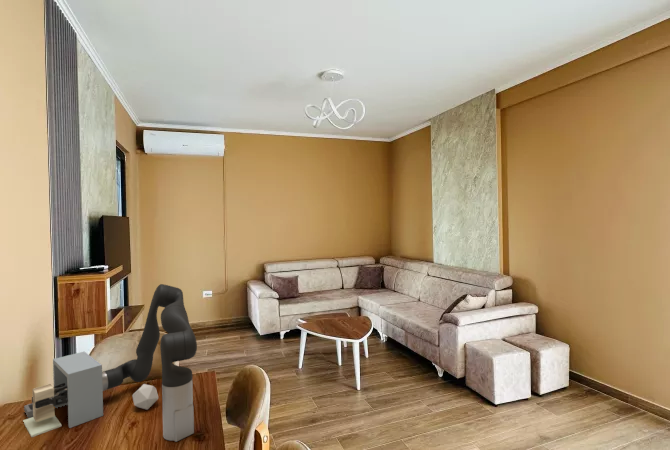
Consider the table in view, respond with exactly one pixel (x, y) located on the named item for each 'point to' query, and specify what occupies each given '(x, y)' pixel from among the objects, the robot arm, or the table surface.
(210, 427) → the table surface
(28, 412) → the trap pit
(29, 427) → the pad
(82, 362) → the grey tunnel
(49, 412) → the birch block
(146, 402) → the die
